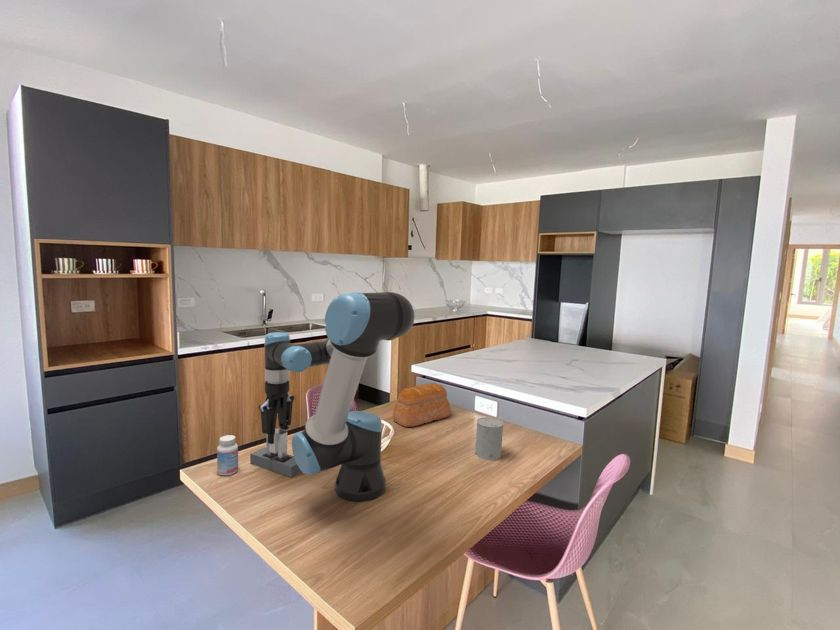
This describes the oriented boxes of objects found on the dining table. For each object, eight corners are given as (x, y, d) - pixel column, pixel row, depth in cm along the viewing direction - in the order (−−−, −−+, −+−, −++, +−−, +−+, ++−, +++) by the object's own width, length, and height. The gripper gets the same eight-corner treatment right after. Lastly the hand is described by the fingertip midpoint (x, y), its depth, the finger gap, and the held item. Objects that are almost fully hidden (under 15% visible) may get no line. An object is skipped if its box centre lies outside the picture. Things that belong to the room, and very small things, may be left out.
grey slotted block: (304, 469, 138) (304, 459, 138) (291, 477, 133) (291, 467, 132) (264, 456, 146) (264, 447, 146) (250, 463, 141) (250, 453, 140)
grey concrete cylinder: (472, 457, 152) (473, 424, 151) (478, 446, 161) (480, 415, 160) (498, 462, 149) (500, 429, 147) (503, 451, 158) (505, 420, 156)
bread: (453, 417, 191) (455, 384, 189) (408, 430, 174) (409, 394, 173) (433, 409, 201) (435, 378, 200) (389, 420, 185) (390, 386, 183)
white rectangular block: (287, 458, 139) (287, 431, 138) (281, 461, 137) (281, 434, 135) (272, 453, 142) (272, 427, 141) (266, 456, 139) (266, 430, 138)
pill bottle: (230, 477, 132) (230, 443, 130) (213, 474, 133) (212, 440, 131) (242, 468, 137) (242, 435, 136) (225, 466, 139) (225, 433, 137)
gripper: (286, 373, 145) (286, 439, 148) (248, 384, 131) (249, 456, 133) (303, 377, 141) (302, 443, 144) (266, 388, 127) (266, 462, 130)
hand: (277, 449), depth 139 cm, fingers closed on white rectangular block, 3 cm apart
